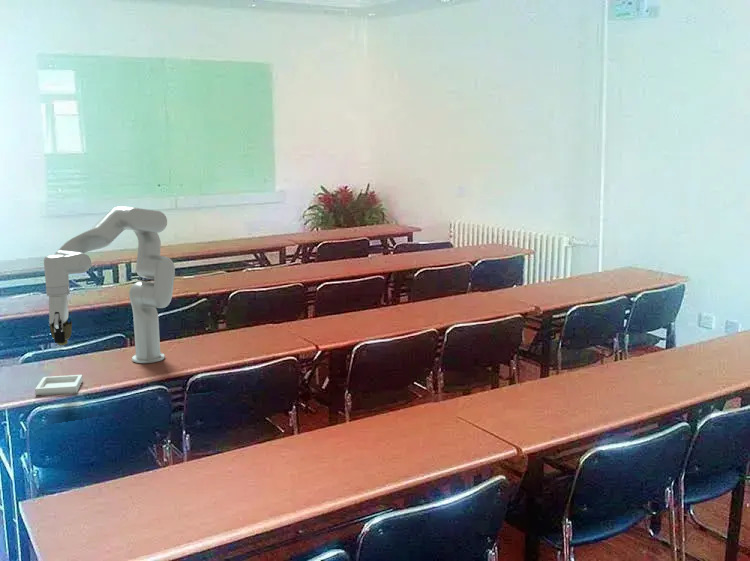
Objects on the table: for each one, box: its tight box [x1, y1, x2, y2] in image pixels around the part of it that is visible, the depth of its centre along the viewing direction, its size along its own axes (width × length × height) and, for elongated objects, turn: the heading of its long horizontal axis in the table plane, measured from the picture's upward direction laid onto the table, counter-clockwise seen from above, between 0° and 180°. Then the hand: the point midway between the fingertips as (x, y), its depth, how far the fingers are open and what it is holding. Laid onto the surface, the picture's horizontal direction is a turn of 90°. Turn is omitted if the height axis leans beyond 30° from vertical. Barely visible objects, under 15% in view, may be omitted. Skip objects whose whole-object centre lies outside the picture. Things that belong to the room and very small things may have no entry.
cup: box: [48, 319, 73, 346], centre depth 266 cm, size 8×7×8 cm
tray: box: [34, 374, 84, 396], centre depth 269 cm, size 13×13×2 cm
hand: (61, 339), depth 267 cm, fingers closed on cup, 6 cm apart
